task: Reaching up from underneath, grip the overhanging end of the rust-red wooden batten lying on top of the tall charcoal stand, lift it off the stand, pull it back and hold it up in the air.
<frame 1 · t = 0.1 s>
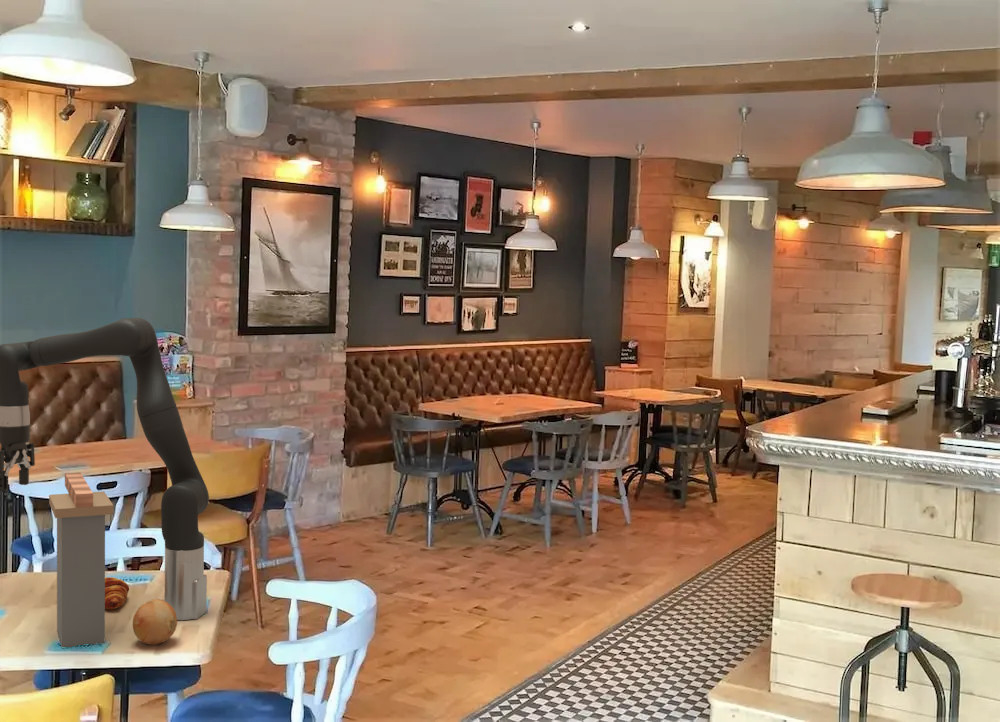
hand: (13, 487, 261), 29 cm above the table, tool pointing down, fingers open, 8 cm apart
drinking glass: (179, 584, 283), on the table
croissant: (108, 602, 267), on the table
batten: (78, 495, 242), point 32 cm above the table, touching stand
onion: (154, 644, 238), on the table
stand: (80, 637, 240), on the table
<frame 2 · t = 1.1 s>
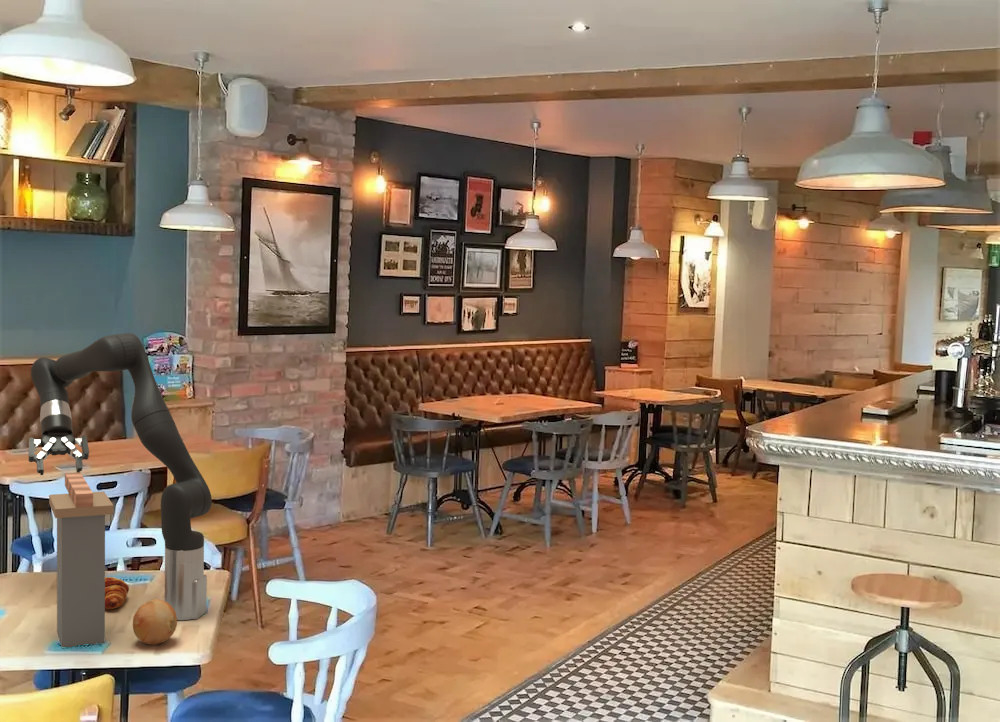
hand: (60, 472, 264), 33 cm above the table, tool tilted 45°, fingers open, 8 cm apart
nothing on the table moved.
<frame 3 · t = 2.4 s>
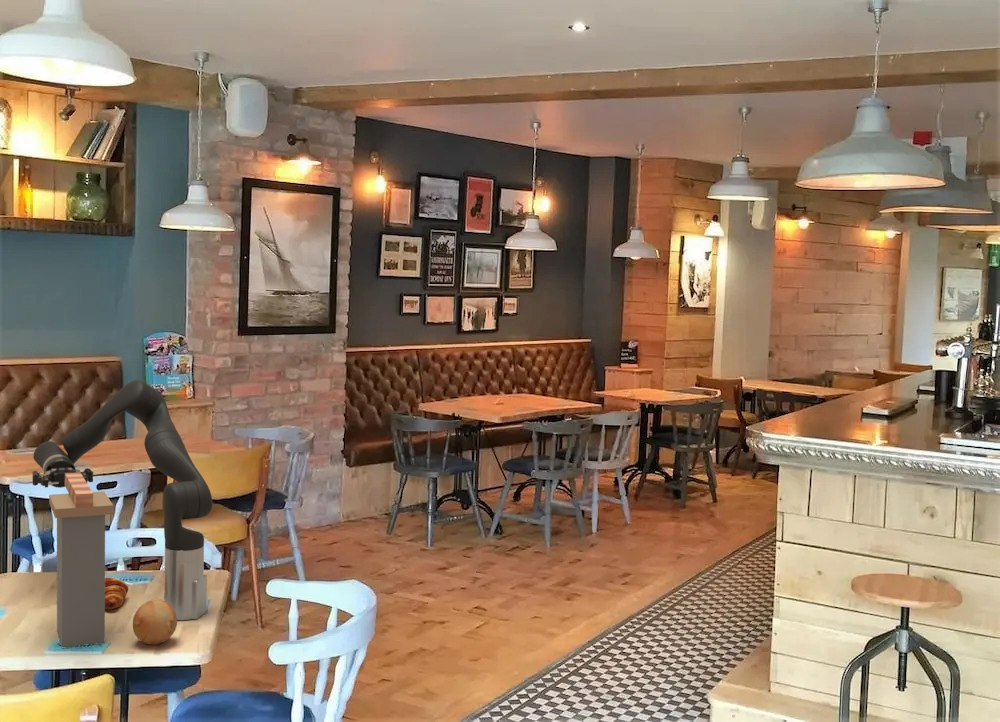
hand: (65, 482, 260), 31 cm above the table, tool horizontal, fingers open, 8 cm apart
nothing on the table moved.
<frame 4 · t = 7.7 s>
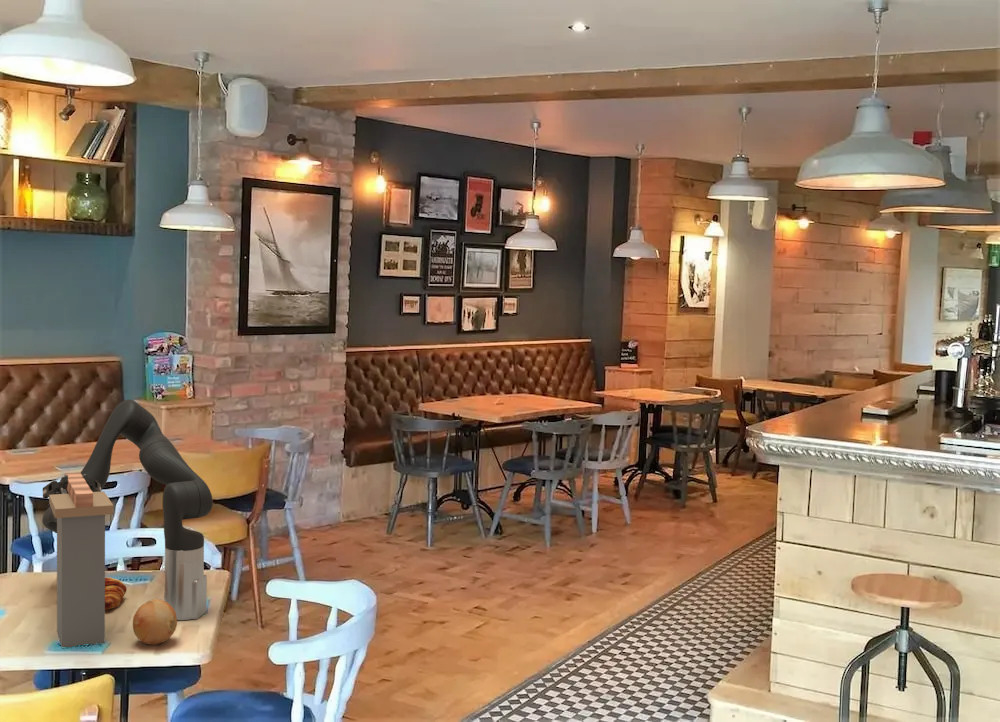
hand: (75, 478, 246), 35 cm above the table, tool pointing upward, fingers closed on batten, 3 cm apart
batten: (78, 495, 242), point 32 cm above the table, touching gripper, stand
everything else where it was.
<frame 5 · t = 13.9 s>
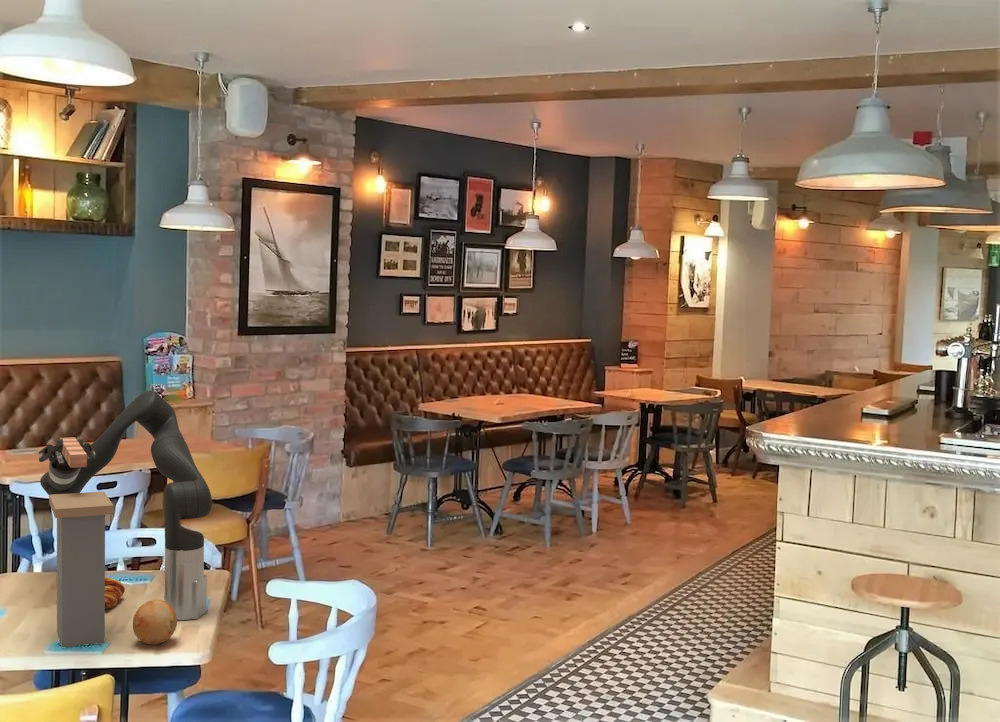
hand: (70, 442, 256), 42 cm above the table, tool pointing upward, fingers closed on batten, 3 cm apart
batten: (72, 457, 252), point 39 cm above the table, touching gripper
at the end: the gripper is holding batten; batten touching gripper; batten moved 13.8 cm from its start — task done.
